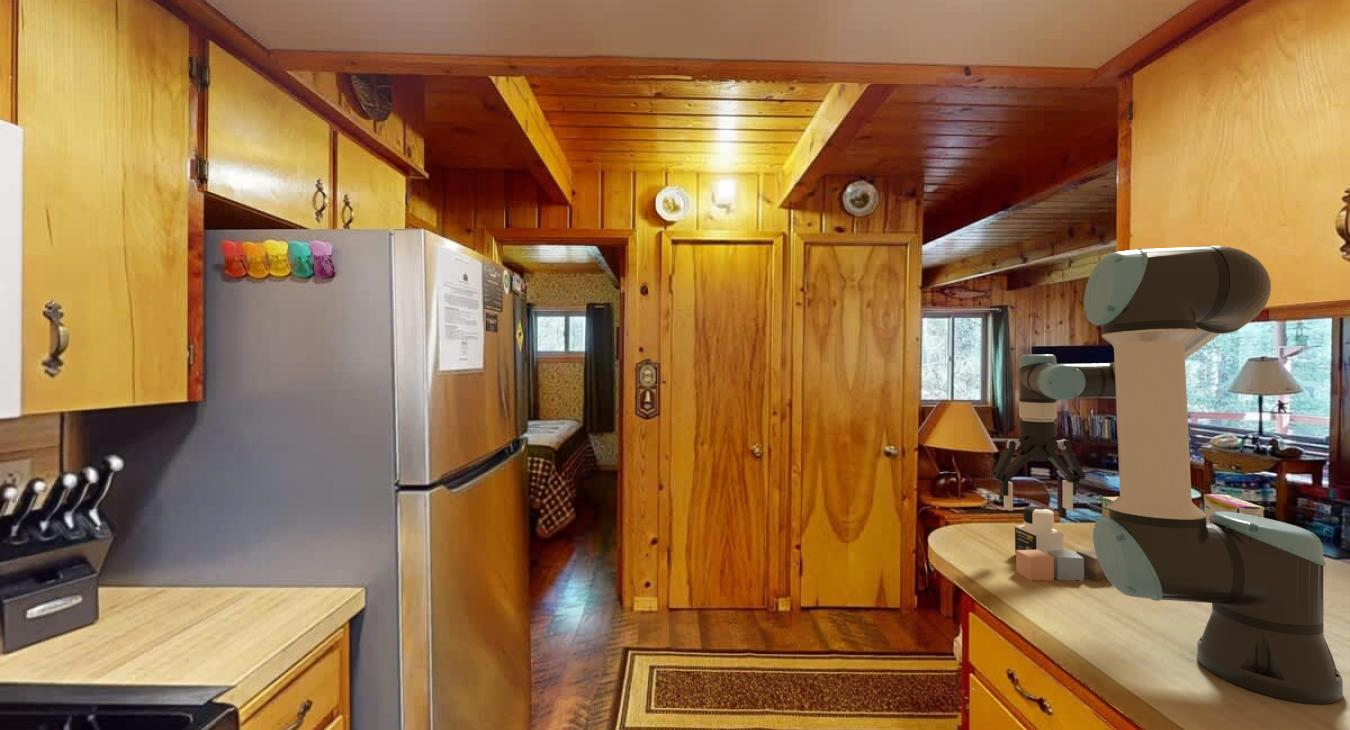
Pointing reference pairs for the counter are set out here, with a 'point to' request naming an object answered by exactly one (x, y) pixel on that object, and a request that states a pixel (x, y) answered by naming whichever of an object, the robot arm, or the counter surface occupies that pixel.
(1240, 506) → the candy bar box
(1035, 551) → the terracotta cube
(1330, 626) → the counter surface
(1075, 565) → the slate blue cube
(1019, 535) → the medicine bottle
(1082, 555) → the walnut cube
